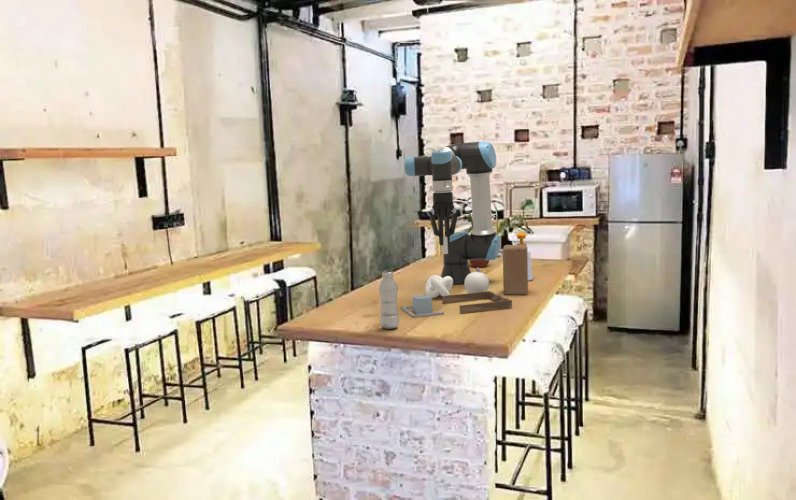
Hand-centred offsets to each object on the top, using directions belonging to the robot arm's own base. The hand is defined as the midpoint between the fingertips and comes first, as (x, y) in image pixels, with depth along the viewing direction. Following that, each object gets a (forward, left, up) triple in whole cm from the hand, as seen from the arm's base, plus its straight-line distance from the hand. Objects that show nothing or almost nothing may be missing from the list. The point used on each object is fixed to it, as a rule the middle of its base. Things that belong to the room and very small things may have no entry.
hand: (444, 253), depth 250 cm
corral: (0, -10, -22) cm, 24 cm away
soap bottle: (-43, +54, -22) cm, 72 cm away
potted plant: (-86, +48, -22) cm, 101 cm away
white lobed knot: (-21, +5, -22) cm, 31 cm away
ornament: (-17, +20, -22) cm, 34 cm away
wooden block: (-15, +37, -22) cm, 45 cm away
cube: (+1, -10, -22) cm, 24 cm away
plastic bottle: (+19, -28, -22) cm, 40 cm away
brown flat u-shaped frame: (0, +12, -22) cm, 25 cm away
